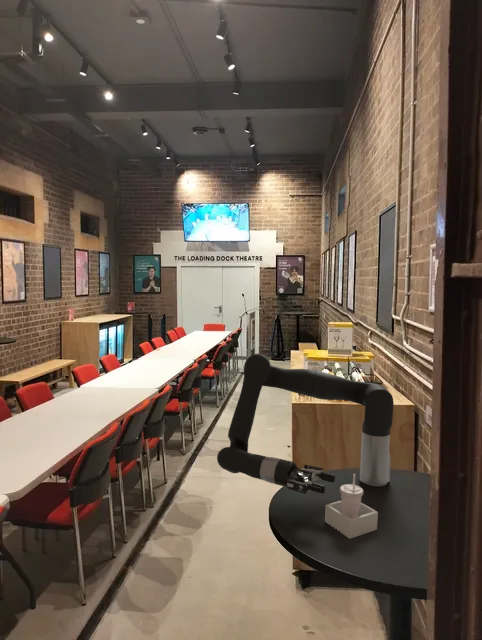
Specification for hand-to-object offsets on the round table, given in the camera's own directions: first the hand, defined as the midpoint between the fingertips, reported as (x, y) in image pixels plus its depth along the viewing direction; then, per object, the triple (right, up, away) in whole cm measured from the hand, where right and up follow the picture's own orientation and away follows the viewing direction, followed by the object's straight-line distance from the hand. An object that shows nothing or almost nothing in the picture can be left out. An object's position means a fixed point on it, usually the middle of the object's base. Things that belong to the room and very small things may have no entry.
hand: (329, 484), depth 135 cm
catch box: (+5, -11, -2) cm, 12 cm away
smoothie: (+5, -10, -2) cm, 12 cm away
